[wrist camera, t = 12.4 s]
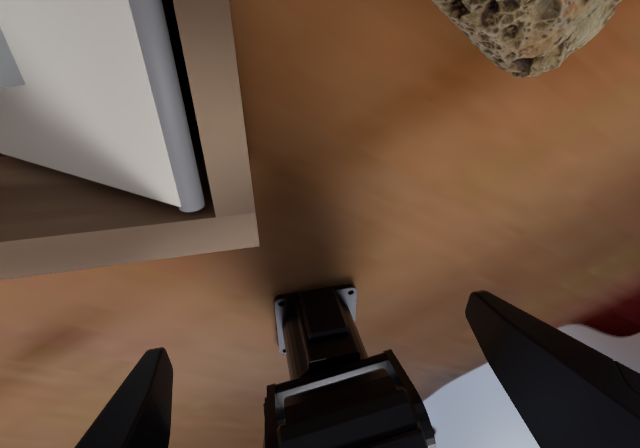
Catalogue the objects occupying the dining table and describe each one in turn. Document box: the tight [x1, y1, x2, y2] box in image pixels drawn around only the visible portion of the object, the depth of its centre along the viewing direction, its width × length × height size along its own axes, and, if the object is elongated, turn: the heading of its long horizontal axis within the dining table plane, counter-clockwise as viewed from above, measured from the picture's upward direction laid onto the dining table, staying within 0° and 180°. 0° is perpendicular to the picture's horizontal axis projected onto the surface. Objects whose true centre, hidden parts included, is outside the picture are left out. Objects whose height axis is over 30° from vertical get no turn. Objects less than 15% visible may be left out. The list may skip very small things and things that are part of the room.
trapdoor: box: [0, 0, 205, 212], centre depth 11 cm, size 12×12×1 cm
